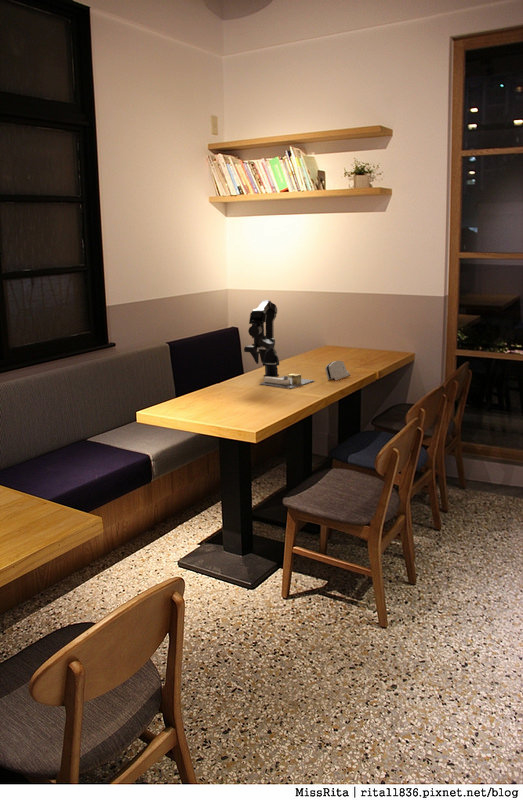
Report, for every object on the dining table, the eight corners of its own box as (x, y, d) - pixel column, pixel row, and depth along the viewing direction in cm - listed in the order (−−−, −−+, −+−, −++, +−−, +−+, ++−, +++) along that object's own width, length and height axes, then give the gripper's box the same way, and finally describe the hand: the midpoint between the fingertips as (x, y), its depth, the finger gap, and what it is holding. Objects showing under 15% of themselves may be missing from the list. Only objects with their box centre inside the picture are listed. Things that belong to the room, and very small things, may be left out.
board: (259, 384, 370) (259, 383, 369) (283, 377, 385) (283, 376, 385) (290, 388, 356) (290, 387, 356) (314, 381, 372) (314, 380, 372)
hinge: (335, 380, 372) (329, 362, 372) (328, 382, 375) (322, 365, 375) (350, 374, 385) (344, 357, 385) (343, 376, 388) (337, 360, 388)
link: (291, 383, 365) (291, 375, 364) (286, 385, 361) (286, 377, 360) (268, 380, 375) (267, 372, 374) (263, 381, 371) (262, 374, 370)
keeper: (288, 384, 367) (287, 374, 366) (292, 382, 370) (292, 373, 369) (296, 385, 364) (296, 375, 362) (301, 384, 367) (301, 374, 365)
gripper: (259, 337, 349) (260, 367, 353) (281, 332, 363) (282, 361, 367) (242, 336, 356) (244, 365, 360) (265, 331, 370) (266, 359, 374)
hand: (260, 363), depth 365 cm, fingers open, 4 cm apart
